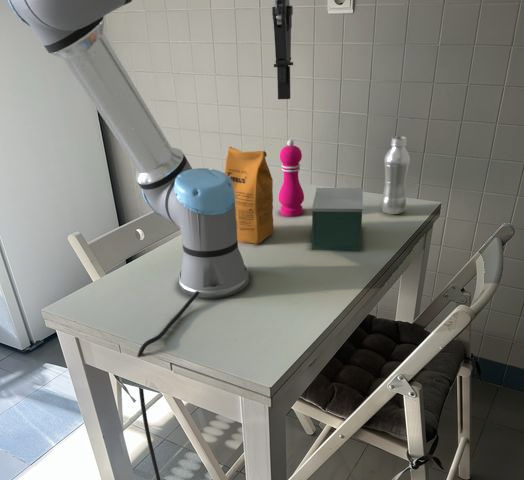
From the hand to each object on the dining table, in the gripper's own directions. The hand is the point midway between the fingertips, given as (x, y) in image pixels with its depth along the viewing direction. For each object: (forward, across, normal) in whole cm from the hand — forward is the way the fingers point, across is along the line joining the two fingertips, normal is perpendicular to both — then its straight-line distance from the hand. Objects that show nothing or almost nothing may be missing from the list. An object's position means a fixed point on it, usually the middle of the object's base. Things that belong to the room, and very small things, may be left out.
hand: (284, 98), depth 121 cm
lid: (+23, -3, -13) cm, 26 cm away
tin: (+32, -3, -13) cm, 35 cm away
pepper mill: (+33, +15, 0) cm, 36 cm away
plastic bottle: (+33, +16, -28) cm, 46 cm away
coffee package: (+33, -3, +10) cm, 34 cm away
